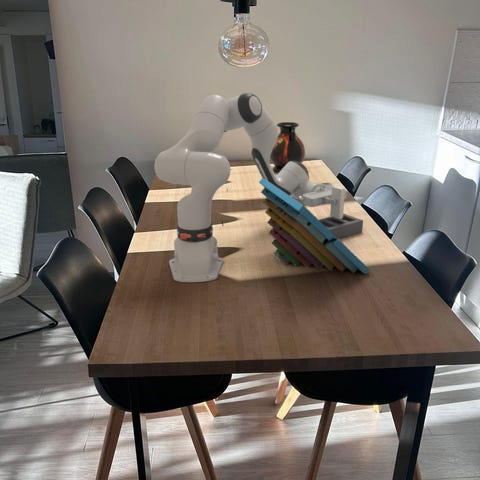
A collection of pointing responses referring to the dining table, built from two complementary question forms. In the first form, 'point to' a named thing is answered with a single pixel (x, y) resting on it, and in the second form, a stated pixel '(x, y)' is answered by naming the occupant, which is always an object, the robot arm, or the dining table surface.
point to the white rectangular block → (339, 207)
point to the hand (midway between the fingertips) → (339, 201)
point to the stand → (343, 225)
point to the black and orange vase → (287, 146)
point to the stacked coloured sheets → (304, 234)
